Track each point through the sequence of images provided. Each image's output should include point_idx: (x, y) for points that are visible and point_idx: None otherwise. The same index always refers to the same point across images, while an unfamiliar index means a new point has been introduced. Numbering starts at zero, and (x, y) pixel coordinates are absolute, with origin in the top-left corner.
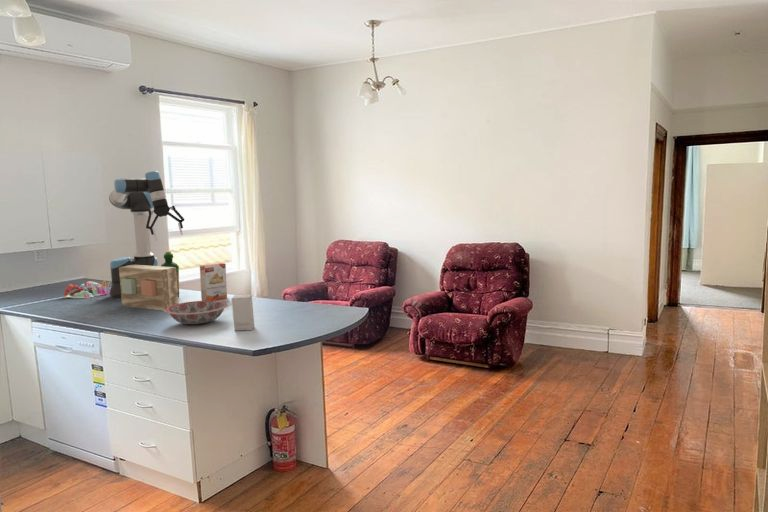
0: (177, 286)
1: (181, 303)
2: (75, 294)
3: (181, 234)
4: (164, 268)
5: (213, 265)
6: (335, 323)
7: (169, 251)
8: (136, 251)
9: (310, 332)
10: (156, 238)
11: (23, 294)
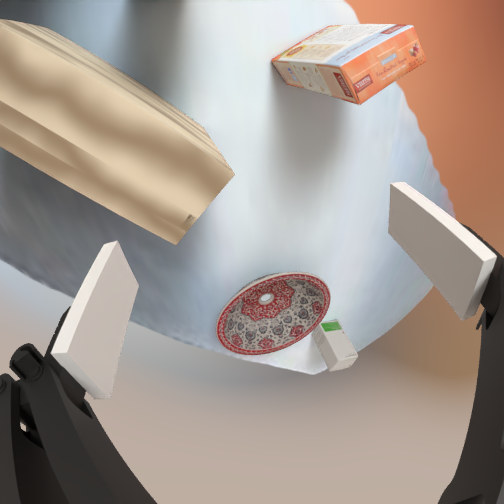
0: None
1: (243, 295)
2: None
3: (390, 232)
4: (179, 198)
5: (389, 84)
6: (408, 303)
7: None
8: None
9: (375, 332)
10: (134, 297)
11: None
